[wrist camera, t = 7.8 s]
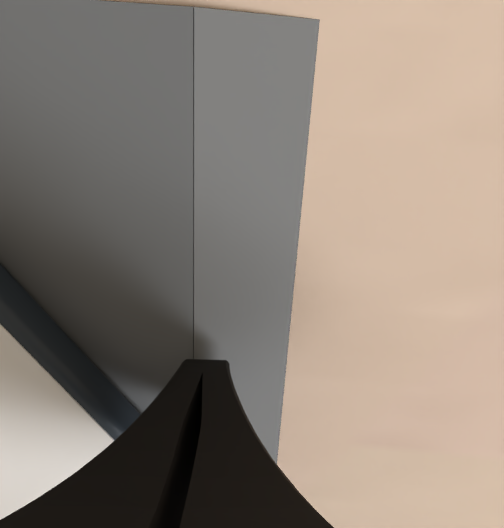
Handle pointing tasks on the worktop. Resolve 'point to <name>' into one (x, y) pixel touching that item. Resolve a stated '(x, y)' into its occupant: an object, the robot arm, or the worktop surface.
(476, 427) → the worktop surface
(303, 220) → the worktop surface
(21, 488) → the phone case
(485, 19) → the worktop surface
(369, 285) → the worktop surface
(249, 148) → the mat
